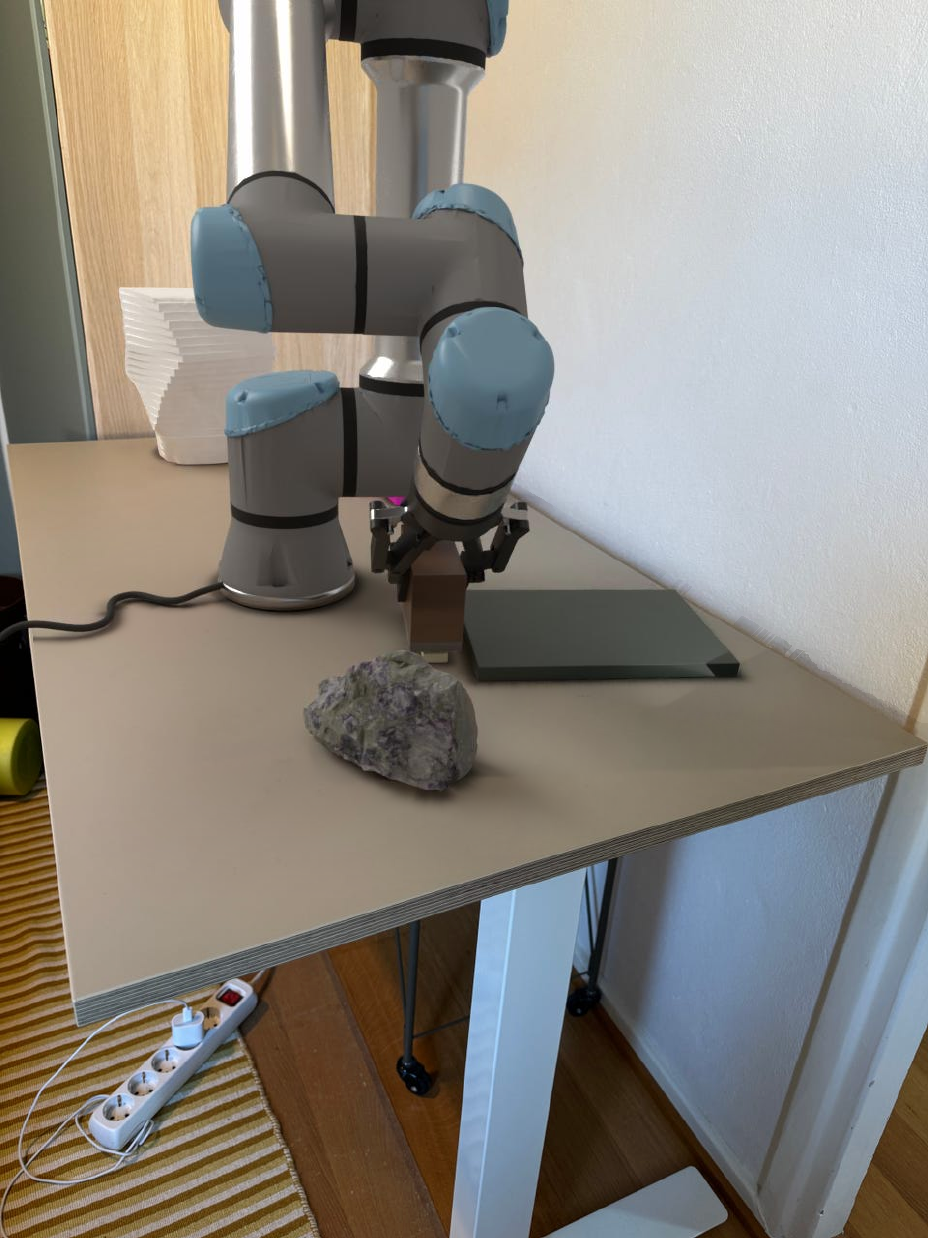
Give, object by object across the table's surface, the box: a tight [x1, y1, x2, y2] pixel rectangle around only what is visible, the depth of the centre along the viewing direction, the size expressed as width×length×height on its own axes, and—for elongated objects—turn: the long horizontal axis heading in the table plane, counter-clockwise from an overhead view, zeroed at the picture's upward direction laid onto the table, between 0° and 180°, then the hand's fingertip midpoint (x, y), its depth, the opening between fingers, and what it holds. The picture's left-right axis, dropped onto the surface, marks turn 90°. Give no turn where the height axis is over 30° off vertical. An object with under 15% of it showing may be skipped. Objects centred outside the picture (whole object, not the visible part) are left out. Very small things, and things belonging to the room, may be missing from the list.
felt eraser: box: [400, 523, 467, 653], centre depth 87 cm, size 13×5×8 cm, turn 8°
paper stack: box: [118, 286, 277, 466], centre depth 141 cm, size 21×27×26 cm
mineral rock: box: [302, 649, 479, 793], centre depth 68 cm, size 13×11×10 cm
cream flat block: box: [420, 651, 449, 664], centre depth 86 cm, size 4×2×1 cm, turn 8°
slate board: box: [463, 588, 741, 682], centre depth 91 cm, size 18×26×2 cm
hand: (429, 589), depth 88 cm, fingers closed on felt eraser, 5 cm apart
